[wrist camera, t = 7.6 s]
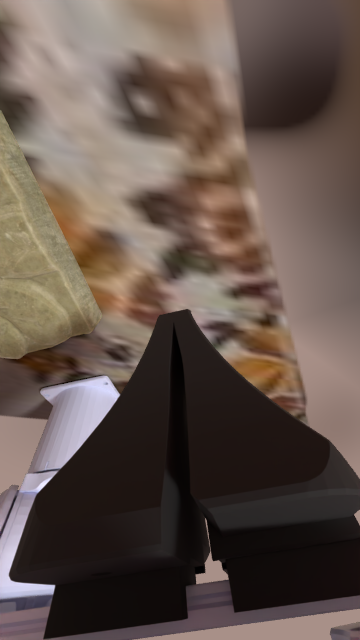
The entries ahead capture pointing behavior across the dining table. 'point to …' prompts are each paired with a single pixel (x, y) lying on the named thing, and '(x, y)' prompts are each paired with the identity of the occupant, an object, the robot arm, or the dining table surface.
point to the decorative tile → (35, 265)
